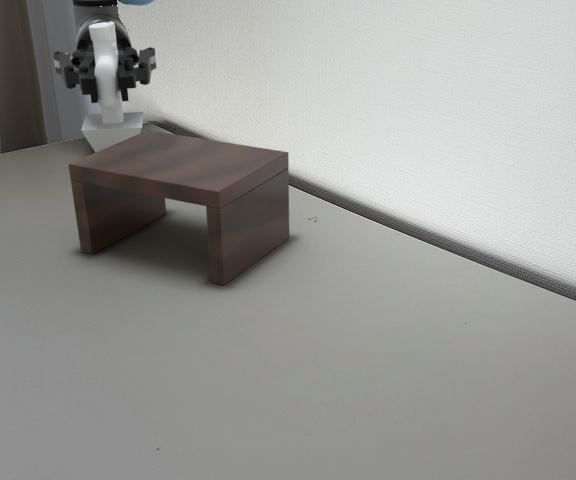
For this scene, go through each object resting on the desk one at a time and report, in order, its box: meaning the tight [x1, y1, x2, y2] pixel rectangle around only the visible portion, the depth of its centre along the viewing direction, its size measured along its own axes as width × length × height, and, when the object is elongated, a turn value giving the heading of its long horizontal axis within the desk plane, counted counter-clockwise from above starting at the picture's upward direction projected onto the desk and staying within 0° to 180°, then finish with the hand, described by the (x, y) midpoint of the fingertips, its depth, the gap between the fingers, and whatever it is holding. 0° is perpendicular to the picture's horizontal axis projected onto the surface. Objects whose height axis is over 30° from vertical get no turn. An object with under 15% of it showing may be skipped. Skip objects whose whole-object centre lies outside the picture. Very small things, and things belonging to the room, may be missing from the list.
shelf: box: [67, 129, 290, 286], centre depth 81 cm, size 16×12×8 cm
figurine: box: [80, 21, 144, 153], centre depth 105 cm, size 7×9×15 cm
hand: (108, 90), depth 100 cm, fingers closed on figurine, 3 cm apart
